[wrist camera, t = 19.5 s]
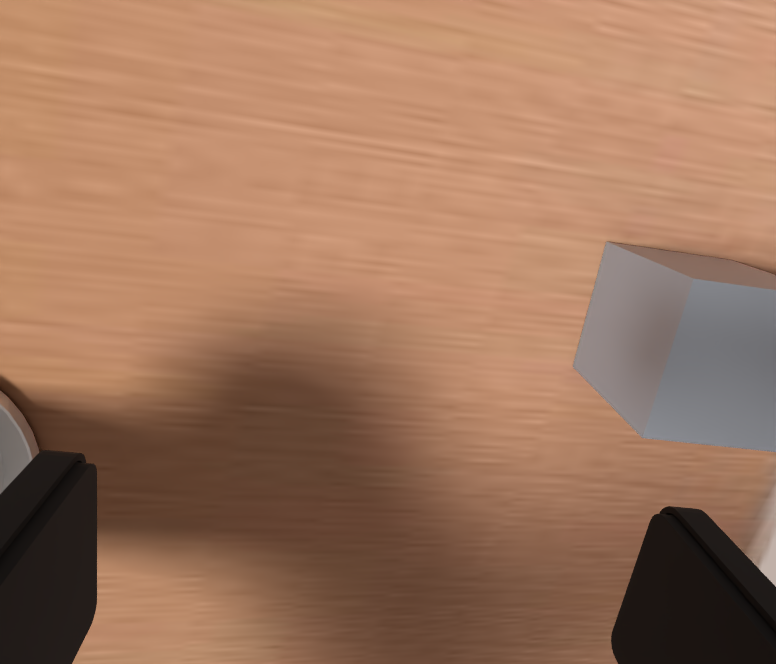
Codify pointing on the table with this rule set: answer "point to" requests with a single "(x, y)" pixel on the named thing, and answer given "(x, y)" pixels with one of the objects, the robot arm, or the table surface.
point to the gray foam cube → (683, 346)
